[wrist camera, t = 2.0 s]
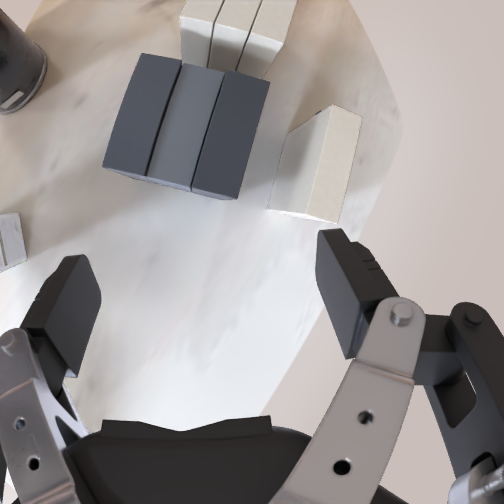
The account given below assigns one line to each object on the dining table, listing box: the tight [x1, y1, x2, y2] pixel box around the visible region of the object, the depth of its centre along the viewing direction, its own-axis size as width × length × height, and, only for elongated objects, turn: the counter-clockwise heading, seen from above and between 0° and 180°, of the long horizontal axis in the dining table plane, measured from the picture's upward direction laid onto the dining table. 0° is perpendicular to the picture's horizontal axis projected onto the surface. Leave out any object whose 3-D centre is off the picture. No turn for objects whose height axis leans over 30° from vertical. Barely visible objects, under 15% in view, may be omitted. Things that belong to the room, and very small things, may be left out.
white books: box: [180, 0, 297, 81], centre depth 24 cm, size 8×9×12 cm
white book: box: [267, 104, 362, 224], centre depth 27 cm, size 3×9×12 cm, turn 165°
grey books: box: [102, 53, 270, 200], centre depth 25 cm, size 10×9×11 cm
